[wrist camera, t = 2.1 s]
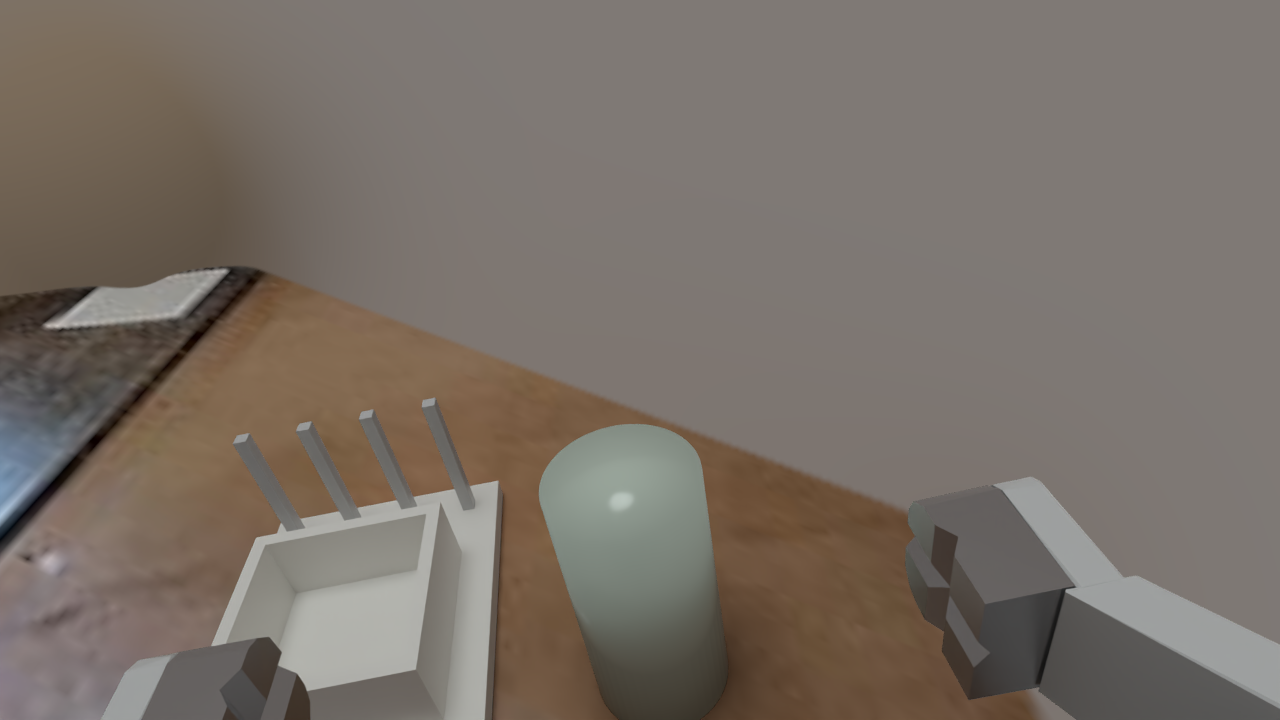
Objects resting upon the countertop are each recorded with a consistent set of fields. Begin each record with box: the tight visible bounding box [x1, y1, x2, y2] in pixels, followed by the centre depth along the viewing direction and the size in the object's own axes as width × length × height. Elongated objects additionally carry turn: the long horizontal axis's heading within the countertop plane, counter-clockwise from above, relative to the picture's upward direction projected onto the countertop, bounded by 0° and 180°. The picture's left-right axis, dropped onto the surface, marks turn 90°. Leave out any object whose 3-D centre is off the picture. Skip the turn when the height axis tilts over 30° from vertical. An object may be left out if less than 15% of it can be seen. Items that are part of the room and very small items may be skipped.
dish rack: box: [211, 398, 503, 720], centre depth 32 cm, size 14×12×8 cm
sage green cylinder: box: [539, 424, 728, 720], centre depth 28 cm, size 6×6×11 cm
